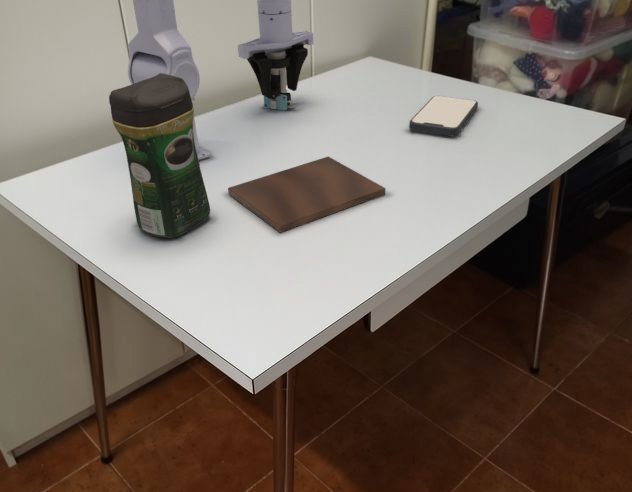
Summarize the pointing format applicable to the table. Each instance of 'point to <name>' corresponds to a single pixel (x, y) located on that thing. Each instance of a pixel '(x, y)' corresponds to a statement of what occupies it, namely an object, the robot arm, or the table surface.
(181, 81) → the coffee jar
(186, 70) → the robot arm
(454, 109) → the phone case
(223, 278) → the table surface
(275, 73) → the push button
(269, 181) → the walnut board
